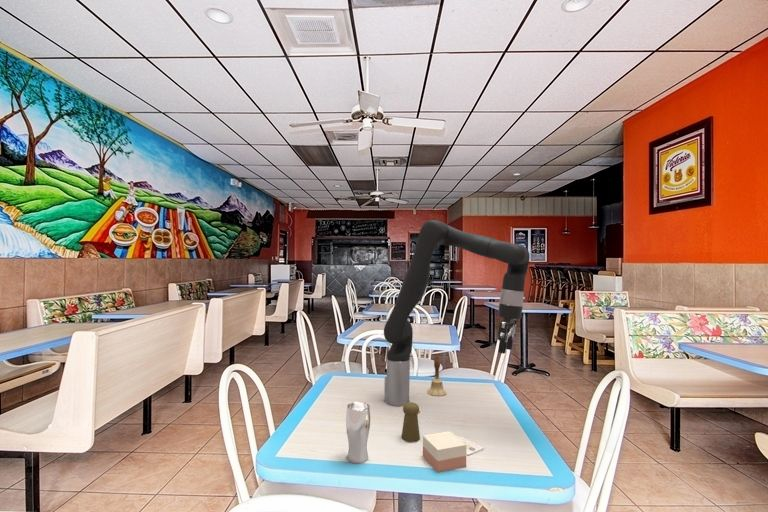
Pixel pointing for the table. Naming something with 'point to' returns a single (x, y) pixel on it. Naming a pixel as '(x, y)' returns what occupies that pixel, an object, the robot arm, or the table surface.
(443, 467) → the brick base
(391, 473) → the table surface
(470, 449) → the page
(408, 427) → the cork
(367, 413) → the beer glass
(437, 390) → the hand bell
